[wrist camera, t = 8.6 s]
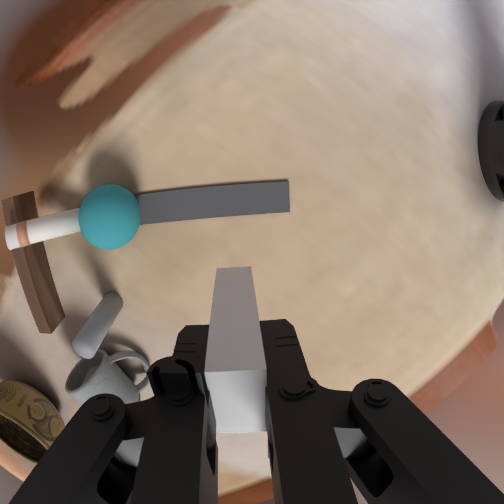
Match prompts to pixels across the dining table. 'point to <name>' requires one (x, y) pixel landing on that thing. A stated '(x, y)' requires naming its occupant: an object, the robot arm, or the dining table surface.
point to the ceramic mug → (105, 377)
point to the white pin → (42, 228)
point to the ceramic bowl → (27, 420)
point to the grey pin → (97, 326)
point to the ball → (109, 216)
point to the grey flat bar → (214, 202)
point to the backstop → (34, 267)
